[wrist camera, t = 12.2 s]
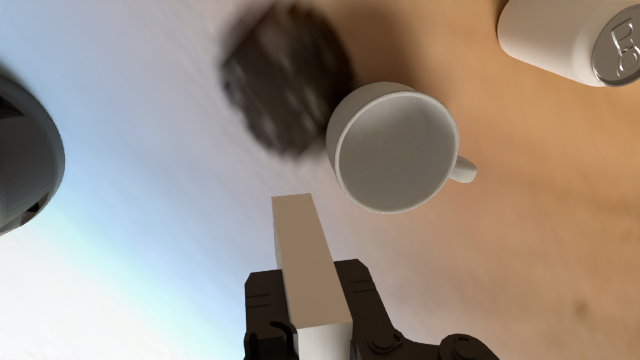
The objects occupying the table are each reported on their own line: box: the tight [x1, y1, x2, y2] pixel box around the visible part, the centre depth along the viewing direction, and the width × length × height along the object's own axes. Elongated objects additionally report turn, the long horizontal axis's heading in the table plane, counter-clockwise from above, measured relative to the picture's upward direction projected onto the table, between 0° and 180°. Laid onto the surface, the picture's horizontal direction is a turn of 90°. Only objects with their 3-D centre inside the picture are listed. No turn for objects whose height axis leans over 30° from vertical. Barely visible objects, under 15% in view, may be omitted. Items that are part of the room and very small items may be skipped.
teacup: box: [326, 82, 477, 214], centre depth 39 cm, size 14×11×8 cm
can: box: [497, 0, 640, 87], centre depth 35 cm, size 6×6×12 cm
